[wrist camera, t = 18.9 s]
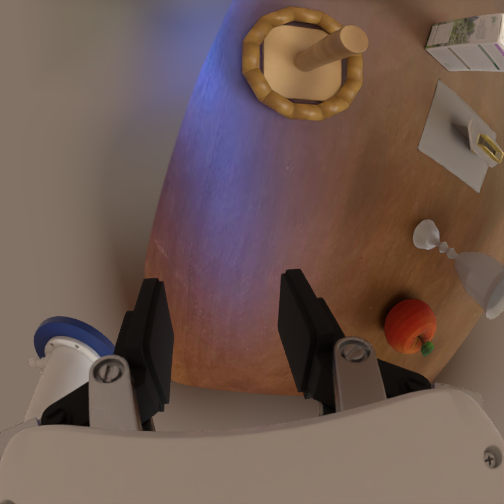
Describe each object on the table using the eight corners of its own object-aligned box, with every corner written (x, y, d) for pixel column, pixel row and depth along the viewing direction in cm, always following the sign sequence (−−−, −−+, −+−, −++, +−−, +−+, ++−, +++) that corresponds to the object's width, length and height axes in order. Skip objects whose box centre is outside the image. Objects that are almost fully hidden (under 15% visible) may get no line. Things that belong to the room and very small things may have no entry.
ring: (240, 117, 28) (242, 117, 27) (241, 5, 22) (243, 0, 21) (356, 124, 30) (363, 125, 28) (356, 22, 24) (363, 19, 22)
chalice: (444, 232, 40) (520, 288, 24) (420, 261, 42) (490, 327, 26) (428, 204, 38) (515, 258, 22) (401, 236, 39) (481, 303, 23)
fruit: (412, 279, 43) (446, 313, 35) (423, 309, 48) (452, 342, 39) (368, 313, 45) (397, 354, 36) (385, 340, 49) (409, 376, 40)
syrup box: (448, 72, 28) (524, 76, 16) (422, 48, 27) (500, 41, 14) (455, 47, 26) (527, 45, 13) (430, 23, 25) (503, 11, 12)
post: (261, 97, 29) (295, 86, 17) (262, 26, 25) (294, -21, 13) (336, 103, 30) (403, 103, 18) (336, 36, 26) (399, 7, 14)
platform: (478, 193, 38) (504, 206, 32) (417, 148, 33) (448, 158, 28) (496, 135, 34) (523, 143, 28) (438, 79, 29) (470, 79, 23)
